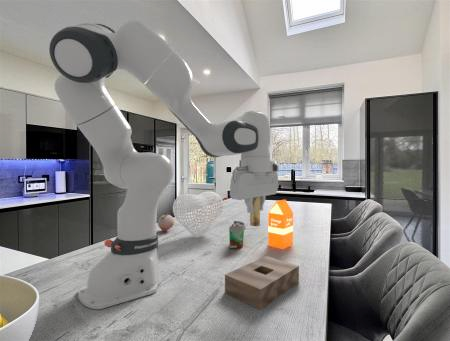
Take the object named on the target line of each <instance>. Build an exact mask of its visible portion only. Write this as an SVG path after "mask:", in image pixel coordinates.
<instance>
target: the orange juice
mask: <svg viewBox="0 0 450 341" xmlns="http://www.w3.org/2000/svg"><path fill="white" fill-rule="evenodd" d="M267 224H268V228H267V231H268V234H267V235H268V238H267V239H268V242H267V244H268V246H270V247H273V248H279V249H281V250H284V249H285V250H286V248H289V247H291V246H293V245H294V212H293V210H292V208H291V207H290V205H289V203H288V202H287V199H281V200H276V201H275V202H274V203H273V205H272V206H271V209H269V211H268V223H267Z"/></svg>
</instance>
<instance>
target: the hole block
mask: <svg viewBox="0 0 450 341" xmlns="http://www.w3.org/2000/svg"><path fill="white" fill-rule="evenodd" d="M299 278H300V266H299V265H297V264H294V263H290V262H286V261H284V260H281V259H278V258H273V257H271V256H267V255H265V256H263V257H261V258H259V259H256V260H254V261H252V262H250V263H247V264H245V265H243V266H240V267H239V268H236V269H235V270H232V271H230V272H228V273H226V274H224V294H227V295H230V296H231V297H234V298H236V299H237V300H239V301H242V302H243V303H245V304H248V305H250V306H252V307H255V308H256V309H258V310H262V309H264V307H265V308H266V306H267V305H269V304H271V303H272V302H273V301H274V300H276V299H278V298H279V297H280V296H282V295H283V294H284V293H286V292H287V291H288V290H290V289H292V288H293V287H294V286H295V285H297V284H299V282H300V279H299Z"/></svg>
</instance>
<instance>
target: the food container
mask: <svg viewBox="0 0 450 341" xmlns="http://www.w3.org/2000/svg"><path fill="white" fill-rule="evenodd" d="M228 227H229V228H228V232H229V233H228V234H229V250H230V251H231V250H232V251H233V250H240V249H243V247H244V237H245V236H244V234H245V231H246V224H245V222H243V221H240V220H233V223H232V224H231V226H228Z"/></svg>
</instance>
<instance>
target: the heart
mask: <svg viewBox="0 0 450 341" xmlns="http://www.w3.org/2000/svg"><path fill="white" fill-rule="evenodd" d="M223 208H224V200H223V198H222V197H221V195H220V194H218V192H214V191H210V190H207V191H203V192H200V193H199V194H194V193H183V194H180V195H178V196H177V197H176V199H174V201H173V204H172V213H173V216H174V217H175V219H176V220H177V221H178V223H179V224H180V225H181V226H183V227H184V228H185V229H186V230H187V231H188V232H189V233H190V234H191V235H192V236H193V237H194V238H195V237H196V238H198V239H199V238H201V237H203V236H204V235H205V234H206V233H207V231H208V230H209V229H210V228H211V226H212V225H213V224H214V222H216V221H217V219H218V218H219V216H221V213H222V212H223Z"/></svg>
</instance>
